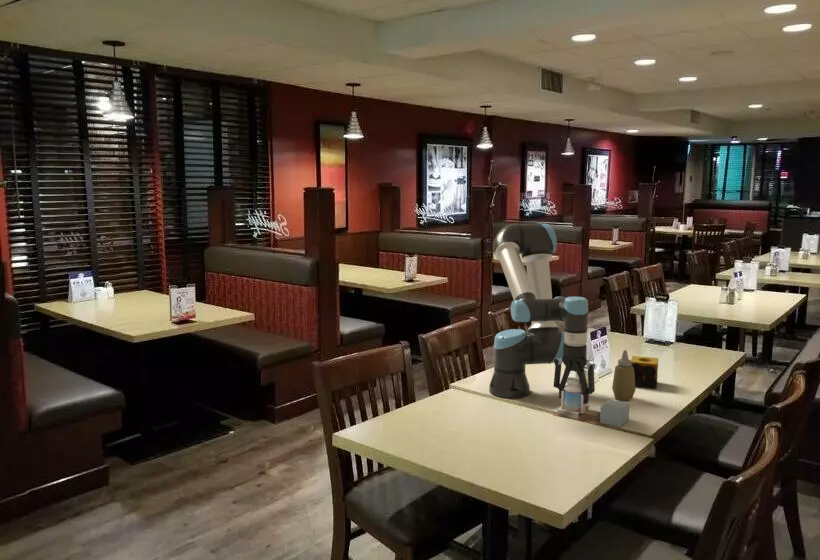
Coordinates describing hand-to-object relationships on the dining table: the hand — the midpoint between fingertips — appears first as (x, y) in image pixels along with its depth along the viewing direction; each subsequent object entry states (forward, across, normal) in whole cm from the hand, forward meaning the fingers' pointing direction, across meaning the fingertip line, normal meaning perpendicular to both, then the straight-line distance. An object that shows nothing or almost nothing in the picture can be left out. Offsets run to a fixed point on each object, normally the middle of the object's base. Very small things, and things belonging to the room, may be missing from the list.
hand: (573, 410), depth 219 cm
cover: (+1, +14, 0) cm, 14 cm away
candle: (+3, +9, +49) cm, 50 cm away
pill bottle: (+1, 0, 0) cm, 1 cm away
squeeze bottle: (+3, +8, +28) cm, 29 cm away
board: (+2, +6, 0) cm, 7 cm away
